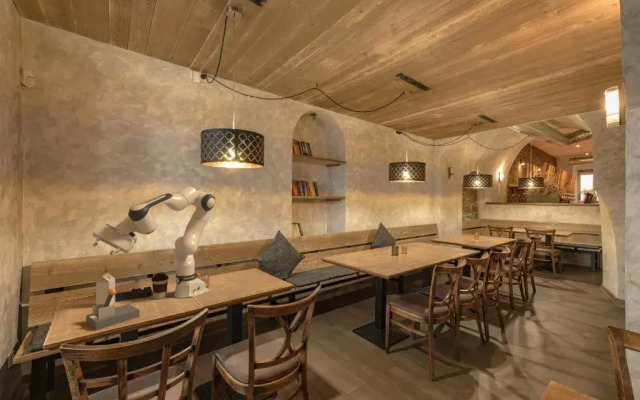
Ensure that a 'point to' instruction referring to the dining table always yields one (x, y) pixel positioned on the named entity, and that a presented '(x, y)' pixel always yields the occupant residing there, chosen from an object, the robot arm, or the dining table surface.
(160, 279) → the coffee cup
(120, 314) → the switch box
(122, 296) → the dark slate chunk
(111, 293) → the toggle lever
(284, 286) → the dining table surface
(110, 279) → the milk carton
